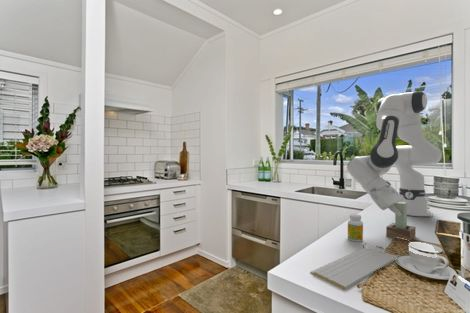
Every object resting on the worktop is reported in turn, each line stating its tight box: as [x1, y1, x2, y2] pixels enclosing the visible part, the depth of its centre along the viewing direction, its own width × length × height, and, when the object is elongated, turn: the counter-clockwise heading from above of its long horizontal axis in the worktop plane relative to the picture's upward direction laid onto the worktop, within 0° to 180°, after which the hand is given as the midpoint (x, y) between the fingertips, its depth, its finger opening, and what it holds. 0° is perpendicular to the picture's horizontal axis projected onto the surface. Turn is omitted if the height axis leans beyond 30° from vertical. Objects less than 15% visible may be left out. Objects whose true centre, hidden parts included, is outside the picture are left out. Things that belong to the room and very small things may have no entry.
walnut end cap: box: [385, 222, 416, 242], centre depth 99 cm, size 9×8×4 cm
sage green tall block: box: [394, 202, 408, 230], centre depth 99 cm, size 4×3×12 cm
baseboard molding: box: [309, 242, 399, 291], centre depth 74 cm, size 31×3×12 cm
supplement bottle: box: [347, 213, 364, 243], centre depth 95 cm, size 5×5×10 cm
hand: (402, 214), depth 98 cm, fingers closed on sage green tall block, 4 cm apart
